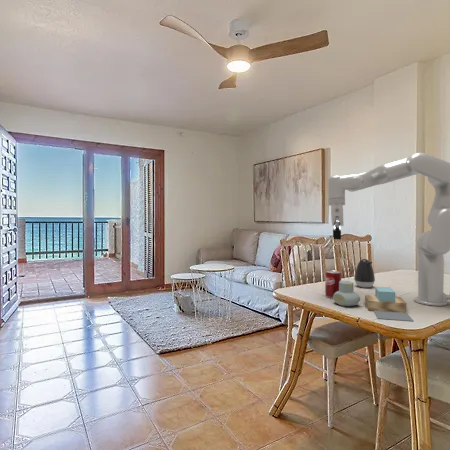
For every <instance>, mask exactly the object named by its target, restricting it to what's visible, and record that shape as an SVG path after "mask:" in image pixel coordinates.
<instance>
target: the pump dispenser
mask: <svg viewBox="0 0 450 450" xmlns="http://www.w3.org/2000/svg"><path fill="white" fill-rule="evenodd" d="M372 264H373V261H370V260H369V259H366V258H362V259H360V260H359V261H358V263H357V266H356V269H355V273H354V278H353V279H354V282H355V284H356V286H358V287H360V288H362V289H363V288H364V289H367V288H368V289H369V288H372V287H373V286H374V285H375V282H376V278H375V277H376V276H375V271H374V267H373V265H372Z"/></svg>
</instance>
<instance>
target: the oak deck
mask: <svg viewBox="0 0 450 450" xmlns="http://www.w3.org/2000/svg"><path fill="white" fill-rule="evenodd" d="M364 299H365V300H364V301H365V302H364V305H365V307H366V308H367V311H372V312H374V311H388V312H403V313H407V314H408V312H407V308H408V307H407V306H408V305H407V304H408V303H407V302H406V301H405V300H404V299H403V297H401V296H395V302H384V301H378V299H377V298H376V296H375V294H371V295H370V294H365V295H364Z"/></svg>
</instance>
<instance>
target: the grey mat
mask: <svg viewBox="0 0 450 450" xmlns="http://www.w3.org/2000/svg"><path fill="white" fill-rule="evenodd" d="M373 313H374V315H375V317H376V318H377V320H385V321H386V320H388V321H389V320H390V321H401V322H413V321H414V319H413V318H412V317H411V316H410V315H409V314H408V312H407V313H403V312H388V311H373Z"/></svg>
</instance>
